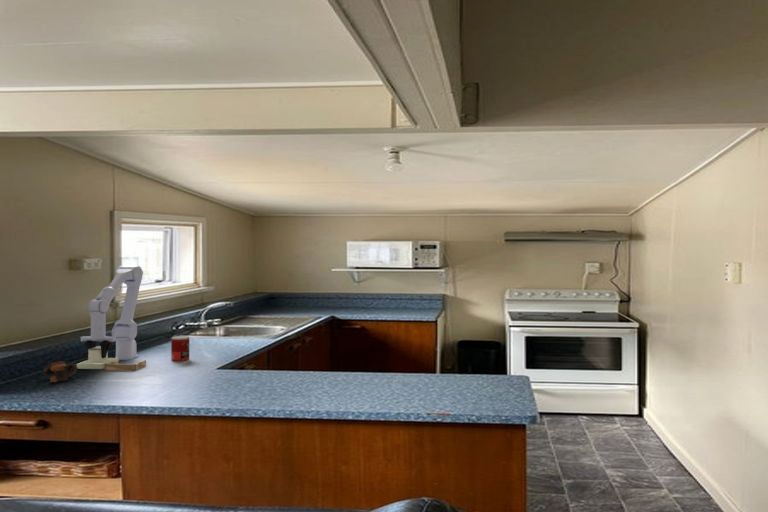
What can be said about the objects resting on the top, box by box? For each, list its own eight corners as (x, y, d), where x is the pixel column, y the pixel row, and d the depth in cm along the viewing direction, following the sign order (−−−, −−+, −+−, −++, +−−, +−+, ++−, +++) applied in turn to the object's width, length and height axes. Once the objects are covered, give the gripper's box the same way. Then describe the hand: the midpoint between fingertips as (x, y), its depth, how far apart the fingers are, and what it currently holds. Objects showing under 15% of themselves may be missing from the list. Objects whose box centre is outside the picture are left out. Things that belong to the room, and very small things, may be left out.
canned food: (183, 362, 234) (183, 338, 234) (167, 362, 235) (167, 338, 235) (192, 359, 242) (192, 336, 242) (177, 358, 243) (177, 335, 243)
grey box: (98, 359, 229) (98, 345, 229) (108, 359, 229) (108, 346, 229) (88, 362, 222) (88, 349, 222) (98, 363, 222) (98, 349, 222)
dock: (116, 366, 226) (116, 359, 226) (146, 366, 225) (146, 360, 225) (104, 371, 216) (104, 364, 216) (134, 371, 216) (134, 364, 216)
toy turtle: (41, 385, 195) (37, 365, 197) (49, 391, 203) (45, 371, 206) (77, 374, 200) (73, 355, 202) (83, 380, 208) (79, 361, 210)
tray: (94, 363, 232) (94, 357, 232) (118, 363, 232) (118, 358, 232) (76, 369, 219) (76, 363, 219) (102, 370, 219) (102, 364, 219)
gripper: (76, 328, 221) (76, 359, 222) (109, 328, 221) (109, 359, 221) (86, 325, 229) (86, 356, 229) (118, 326, 228) (118, 356, 228)
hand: (98, 357), depth 225 cm, fingers closed on grey box, 4 cm apart
